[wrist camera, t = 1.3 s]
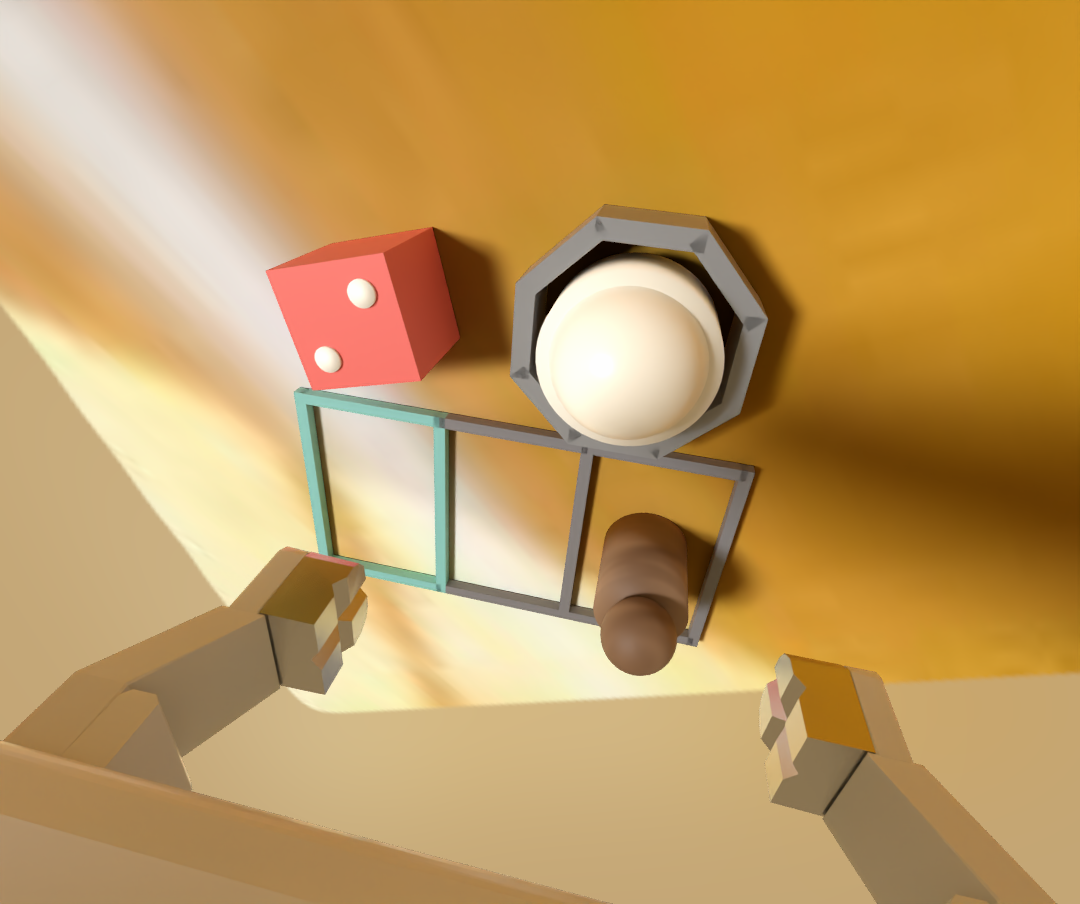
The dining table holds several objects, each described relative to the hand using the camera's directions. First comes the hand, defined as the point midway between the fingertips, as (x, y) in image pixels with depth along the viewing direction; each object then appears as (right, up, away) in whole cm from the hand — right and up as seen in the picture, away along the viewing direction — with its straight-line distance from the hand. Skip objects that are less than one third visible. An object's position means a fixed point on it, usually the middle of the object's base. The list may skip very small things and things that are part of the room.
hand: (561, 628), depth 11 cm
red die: (-7, +11, +16) cm, 21 cm away
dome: (+4, +9, +15) cm, 18 cm away
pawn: (+5, -2, +21) cm, 22 cm away
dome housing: (+4, +9, +15) cm, 18 cm away
